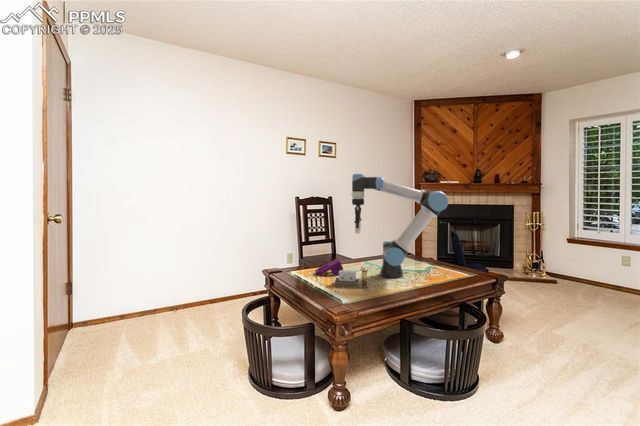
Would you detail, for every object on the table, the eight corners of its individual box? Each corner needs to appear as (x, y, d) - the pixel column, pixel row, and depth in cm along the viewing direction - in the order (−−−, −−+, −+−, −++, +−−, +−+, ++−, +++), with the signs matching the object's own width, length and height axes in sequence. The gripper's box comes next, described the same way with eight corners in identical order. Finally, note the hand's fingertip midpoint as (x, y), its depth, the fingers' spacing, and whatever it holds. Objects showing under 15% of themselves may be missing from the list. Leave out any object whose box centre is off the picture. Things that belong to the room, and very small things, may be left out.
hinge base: (368, 282, 203) (368, 266, 203) (368, 288, 192) (368, 271, 191) (336, 281, 207) (336, 265, 206) (334, 286, 195) (334, 270, 194)
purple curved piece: (321, 284, 220) (345, 272, 222) (315, 273, 219) (339, 261, 221) (319, 280, 230) (342, 268, 231) (314, 270, 229) (337, 258, 230)
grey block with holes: (355, 281, 201) (355, 270, 201) (355, 284, 196) (355, 272, 196) (339, 281, 203) (339, 270, 202) (338, 283, 198) (338, 272, 197)
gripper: (353, 197, 220) (353, 229, 221) (350, 199, 195) (350, 234, 197) (364, 197, 218) (364, 229, 220) (363, 199, 194) (363, 234, 195)
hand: (357, 232), depth 208 cm, fingers open, 13 cm apart
